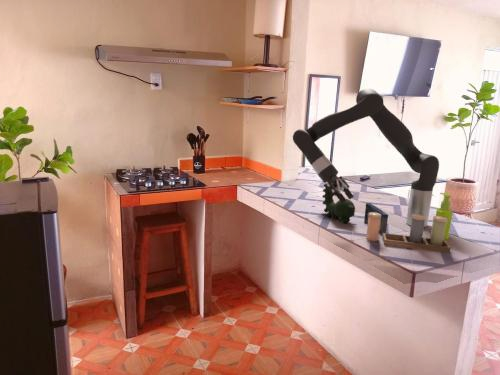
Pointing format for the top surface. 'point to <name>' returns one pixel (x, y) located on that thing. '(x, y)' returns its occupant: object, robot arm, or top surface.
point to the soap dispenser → (445, 213)
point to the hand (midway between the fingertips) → (348, 200)
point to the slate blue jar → (417, 228)
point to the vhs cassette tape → (384, 216)
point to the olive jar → (438, 230)
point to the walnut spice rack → (404, 242)
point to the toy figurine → (338, 207)
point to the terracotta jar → (373, 226)
